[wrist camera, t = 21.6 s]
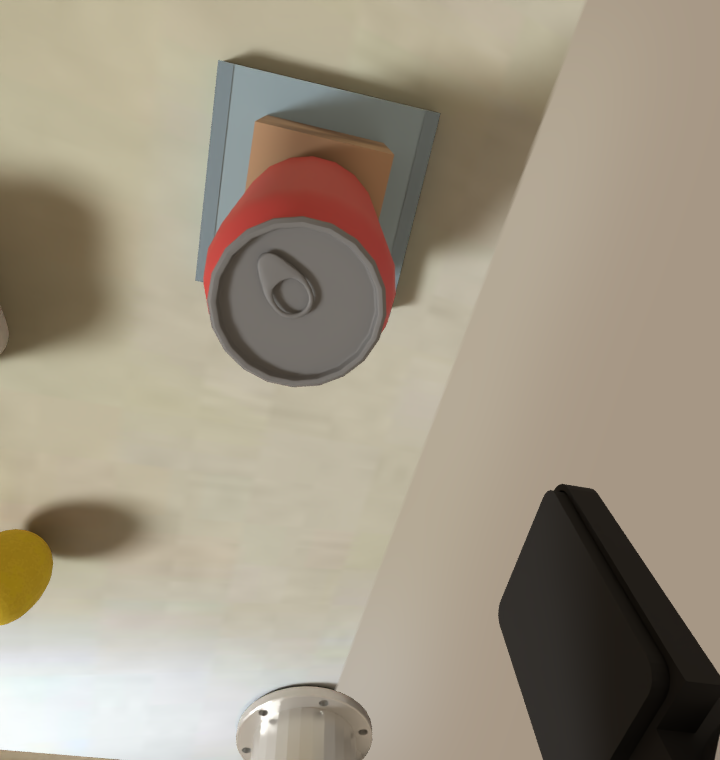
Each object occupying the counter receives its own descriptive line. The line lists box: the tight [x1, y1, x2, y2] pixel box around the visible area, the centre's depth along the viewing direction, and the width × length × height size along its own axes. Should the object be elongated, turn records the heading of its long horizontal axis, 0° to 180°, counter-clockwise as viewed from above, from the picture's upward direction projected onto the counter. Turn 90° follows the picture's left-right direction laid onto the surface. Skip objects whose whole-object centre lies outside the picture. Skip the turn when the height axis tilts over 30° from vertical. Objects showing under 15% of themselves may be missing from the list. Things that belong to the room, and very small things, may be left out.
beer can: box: [203, 156, 396, 387], centre depth 24 cm, size 7×7×12 cm
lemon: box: [0, 529, 53, 625], centre depth 43 cm, size 6×6×8 cm
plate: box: [195, 60, 440, 316], centre depth 36 cm, size 12×12×2 cm
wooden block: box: [245, 115, 394, 220], centre depth 32 cm, size 6×8×6 cm
